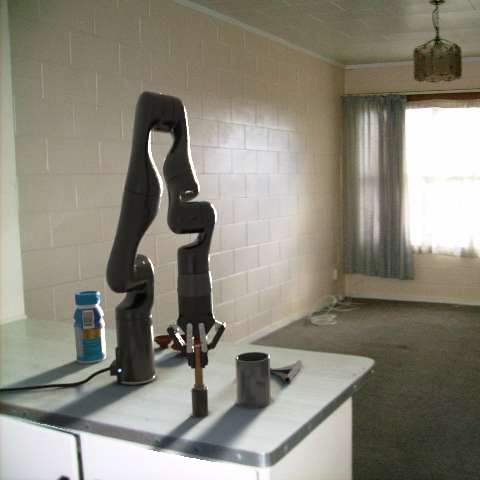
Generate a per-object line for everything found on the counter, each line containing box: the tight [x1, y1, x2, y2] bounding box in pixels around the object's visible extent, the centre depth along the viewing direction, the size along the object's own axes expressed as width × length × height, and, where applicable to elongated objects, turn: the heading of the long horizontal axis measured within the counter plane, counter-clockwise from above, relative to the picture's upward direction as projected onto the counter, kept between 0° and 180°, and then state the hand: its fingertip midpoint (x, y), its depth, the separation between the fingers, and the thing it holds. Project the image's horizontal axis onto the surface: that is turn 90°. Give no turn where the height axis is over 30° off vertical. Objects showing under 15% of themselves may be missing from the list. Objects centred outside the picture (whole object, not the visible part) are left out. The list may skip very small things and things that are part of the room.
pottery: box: [153, 333, 210, 356], centre depth 194 cm, size 12×20×4 cm, turn 59°
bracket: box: [270, 360, 303, 384], centre depth 171 cm, size 14×15×3 cm
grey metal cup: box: [234, 351, 272, 409], centre depth 150 cm, size 8×8×11 cm
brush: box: [190, 345, 210, 418], centre depth 143 cm, size 4×4×16 cm
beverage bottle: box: [73, 290, 107, 364], centre depth 185 cm, size 8×8×20 cm
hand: (198, 367), depth 143 cm, fingers closed on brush, 2 cm apart
